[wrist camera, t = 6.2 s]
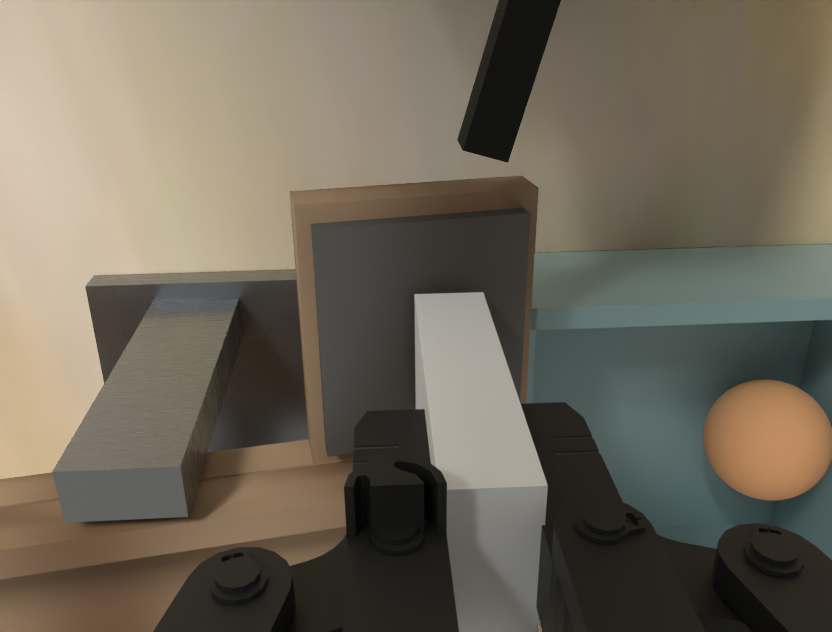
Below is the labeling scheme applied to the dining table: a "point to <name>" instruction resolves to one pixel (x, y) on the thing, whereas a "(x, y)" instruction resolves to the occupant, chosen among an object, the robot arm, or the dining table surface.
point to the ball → (768, 439)
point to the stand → (181, 387)
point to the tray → (683, 368)
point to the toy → (506, 76)
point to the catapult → (325, 403)
